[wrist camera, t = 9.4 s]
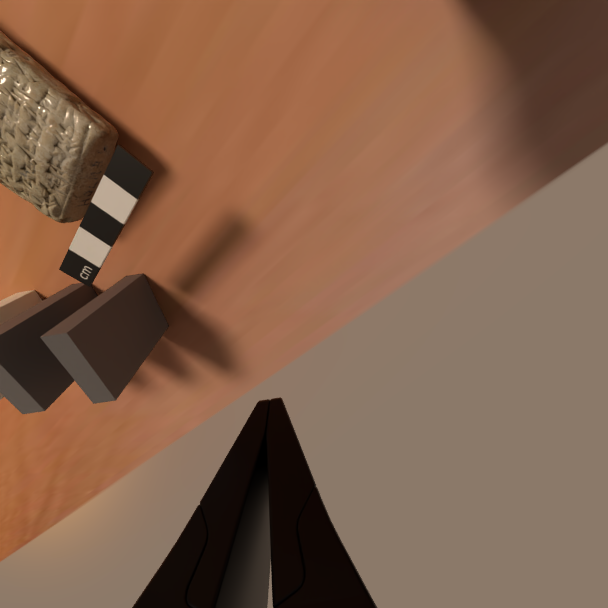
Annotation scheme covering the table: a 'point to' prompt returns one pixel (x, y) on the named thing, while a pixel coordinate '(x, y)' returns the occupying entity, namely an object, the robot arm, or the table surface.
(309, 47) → the table surface
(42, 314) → the domino
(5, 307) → the end domino
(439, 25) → the table surface
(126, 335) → the domino
